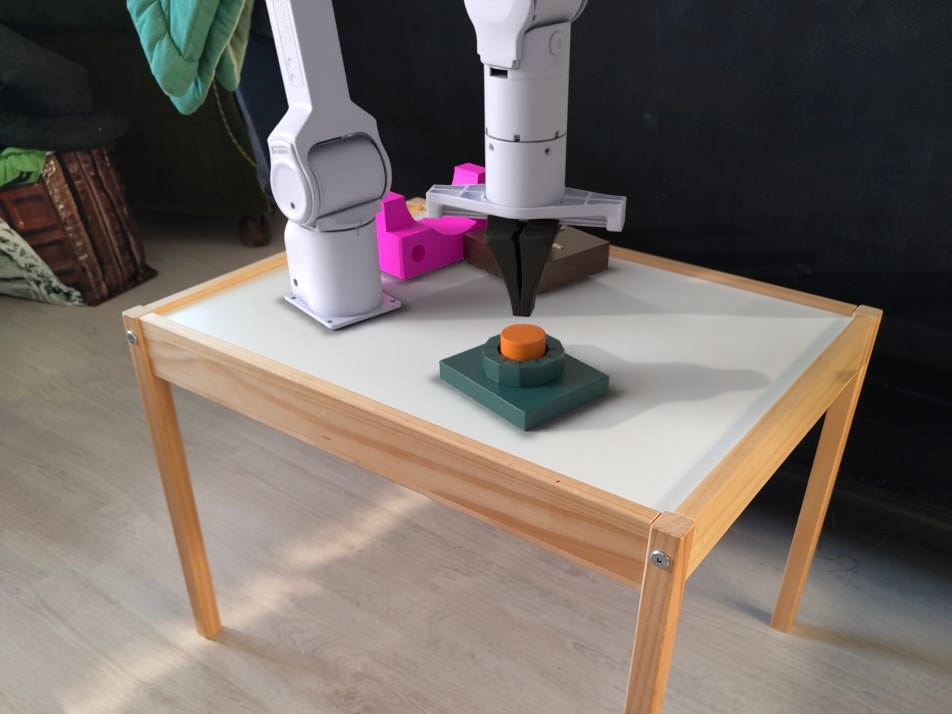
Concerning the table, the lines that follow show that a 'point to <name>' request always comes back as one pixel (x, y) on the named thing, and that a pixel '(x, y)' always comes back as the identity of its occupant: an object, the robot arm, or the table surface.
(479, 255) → the dial panel
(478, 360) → the button base
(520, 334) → the button
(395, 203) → the toy block
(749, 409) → the table surface
